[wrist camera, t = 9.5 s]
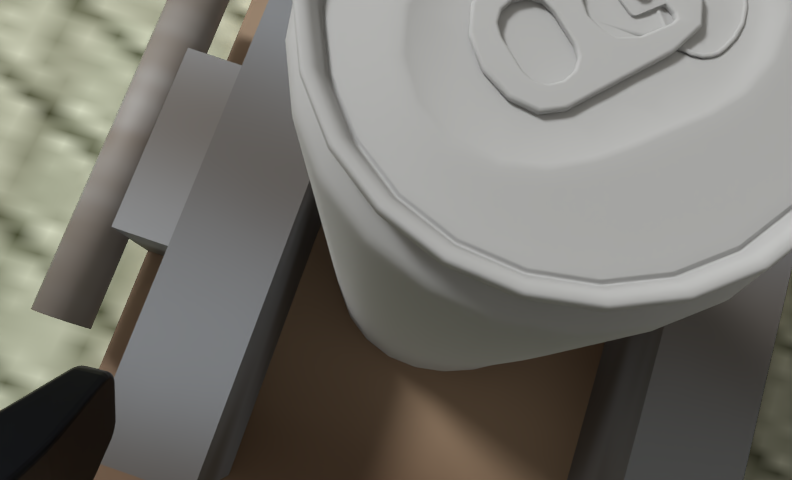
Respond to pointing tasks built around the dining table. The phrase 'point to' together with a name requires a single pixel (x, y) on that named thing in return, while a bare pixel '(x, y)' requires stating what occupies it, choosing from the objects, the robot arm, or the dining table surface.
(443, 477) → the vise
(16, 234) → the dining table surface
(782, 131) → the beverage can
